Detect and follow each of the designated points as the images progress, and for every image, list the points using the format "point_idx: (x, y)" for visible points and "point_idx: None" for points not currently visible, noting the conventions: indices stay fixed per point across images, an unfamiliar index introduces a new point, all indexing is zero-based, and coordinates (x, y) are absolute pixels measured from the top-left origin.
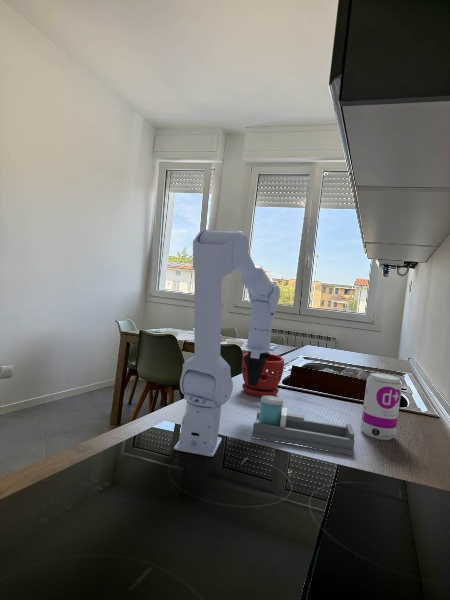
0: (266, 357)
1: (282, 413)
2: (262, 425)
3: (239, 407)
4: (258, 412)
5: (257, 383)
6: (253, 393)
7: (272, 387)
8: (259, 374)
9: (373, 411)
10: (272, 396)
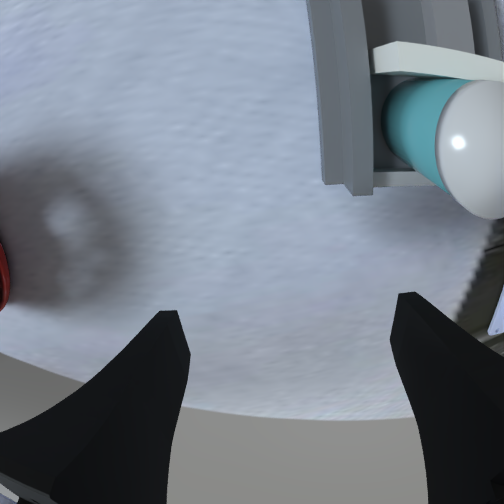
0: (86, 462)
1: (496, 80)
2: None
3: (164, 280)
4: (359, 191)
5: (425, 300)
6: (7, 268)
7: None
8: (477, 344)
9: None
10: (457, 151)
